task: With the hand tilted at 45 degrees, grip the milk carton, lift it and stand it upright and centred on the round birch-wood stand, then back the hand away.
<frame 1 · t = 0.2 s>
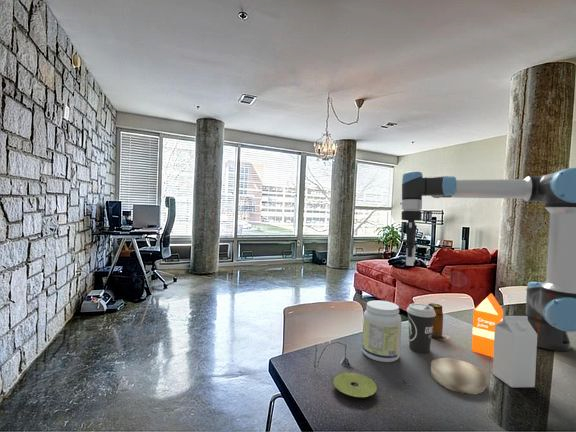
hand: (410, 263, 123), 28 cm above the table, tool pointing down, fingers open, 13 cm apart
green disc: (354, 391, 81), on the table
birch stand: (457, 379, 88), on the table
condiment: (435, 336, 120), on the table
supplement tub: (380, 355, 102), on the table
milk carton: (512, 381, 89), on the table
orange juice: (486, 351, 108), on the table
coffee cup: (419, 349, 108), on the table
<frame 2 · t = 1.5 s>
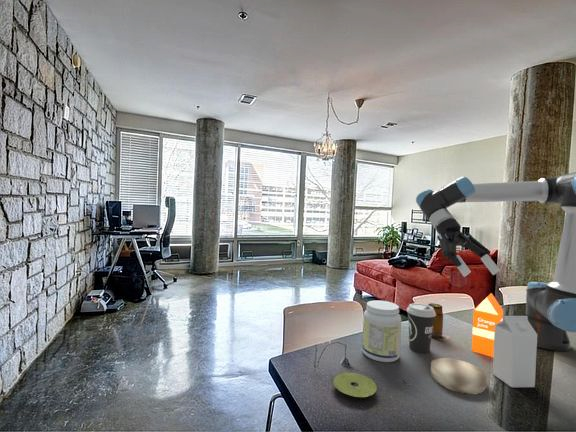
hand: (482, 273, 98), 29 cm above the table, tool tilted 45°, fingers open, 13 cm apart
nothing on the table moved.
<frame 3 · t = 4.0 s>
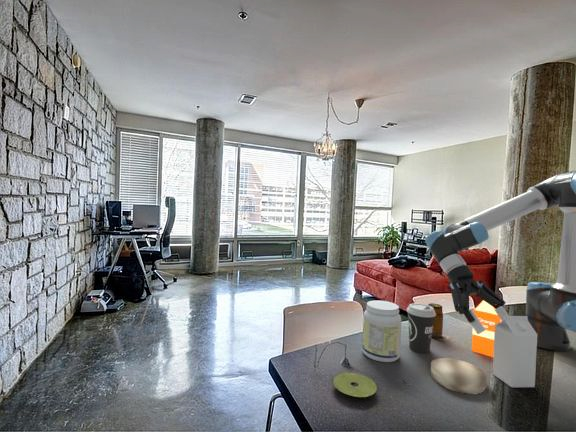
hand: (497, 329, 92), 13 cm above the table, tool tilted 45°, fingers open, 13 cm apart
nothing on the table moved.
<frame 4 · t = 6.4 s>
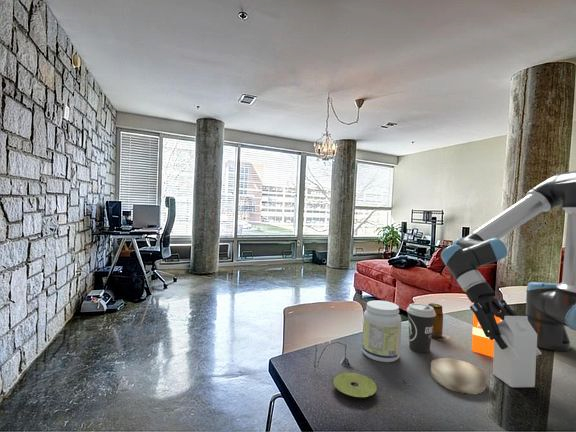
hand: (526, 357, 86), 8 cm above the table, tool tilted 45°, fingers closed on milk carton, 9 cm apart
milk carton: (512, 381, 89), on the table, touching gripper
everything else where it was.
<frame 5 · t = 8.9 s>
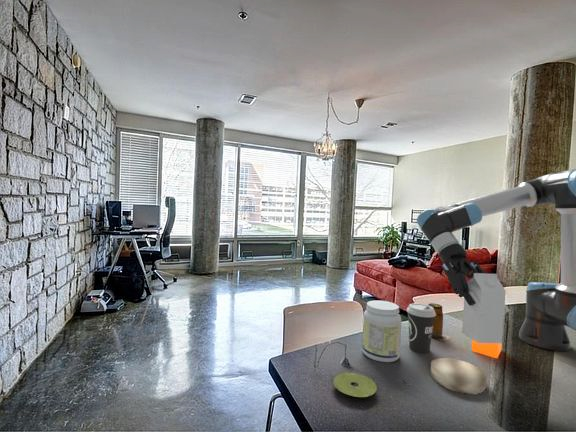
hand: (494, 314, 85), 20 cm above the table, tool tilted 45°, fingers closed on milk carton, 9 cm apart
milk carton: (481, 339, 89), point 12 cm above the table, touching gripper
everything else where it was.
when the fingers open (13 cm above the table, at t = 11.6 s): milk carton drops 1 cm, resting on birch stand.
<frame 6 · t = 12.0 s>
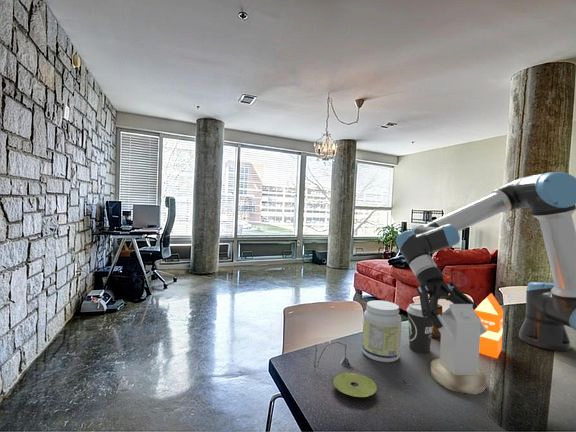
hand: (466, 336, 86), 14 cm above the table, tool tilted 45°, fingers open, 13 cm apart
milk carton: (458, 369, 88), point 3 cm above the table, touching birch stand
everything else where it was.
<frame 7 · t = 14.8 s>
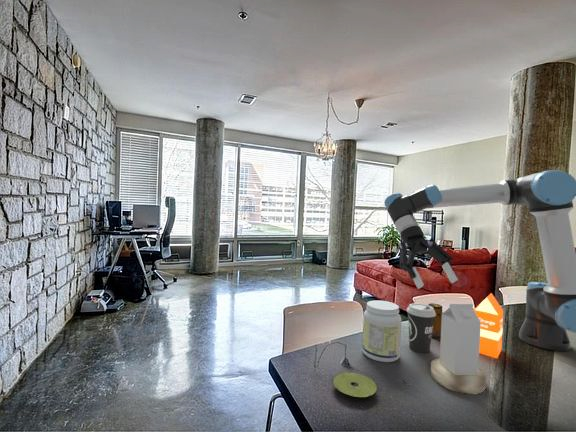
hand: (438, 284, 100), 25 cm above the table, tool tilted 40°, fingers open, 13 cm apart
nothing on the table moved.
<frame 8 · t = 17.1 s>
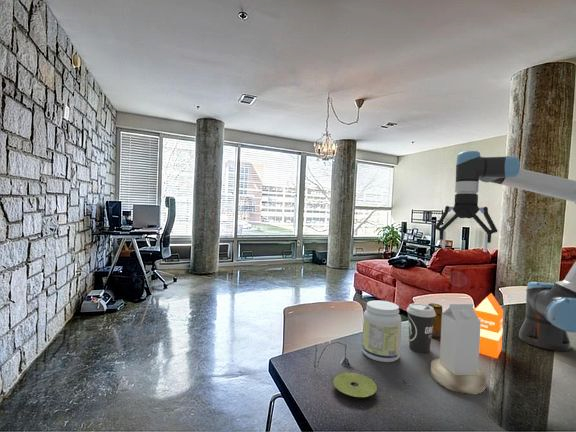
hand: (463, 250, 115), 35 cm above the table, tool pointing down, fingers open, 13 cm apart
nothing on the table moved.
at the end: milk carton 0.4 cm from the birch stand (horizontally); milk carton point 2.8 cm above the table; milk carton tilted 0° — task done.
